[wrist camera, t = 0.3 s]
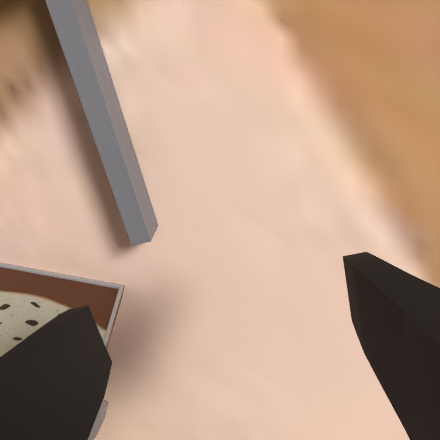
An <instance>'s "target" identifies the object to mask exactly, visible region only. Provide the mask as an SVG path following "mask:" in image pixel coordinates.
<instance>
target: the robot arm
mask: <svg viewBox="0 0 440 440" xmlns="http://www.w3.org/2000/svg"><path fill="white" fill-rule="evenodd" d="M343 261H344V268H345V275H346V282H347V289H348V296H349V303H350V311H351V318H352V322H353V325H354V328H355V330H356V333H357V336H358V338H359V341H360V343H361V346H362V348H363V351H364V353H365V355H366V357H367V359H368V361H369V363H370V365H371V367H372V369H373V371H374V372H375V374H376V376H377V378H378V380H379V382H380V384H381V386H382V387H383V389H384V391H385V393H386V395H387V397H388V399H389V400H390V402H391V404H392V406H393V408H394V410H395V412H396V414H397V415H398V417H399V419H400V421H401V423H402V425H403V427H404V428H405V430H406V432H407V434H408V436H409V438H410V440H440V288H438V287H436V286H434V285H432V284H430V283H427V282H425V281H423V280H421V279H419V278H417V277H415V276H413V275H411V274H409V273H407V272H405V271H403V270H401V269H399V268H397V267H395V266H393V265H391V264H389V263H387V262H386V261H384V260H382V259H380V258H378V257H376V256H374V255H372V254H370V253H368V252H363V253H358V254H353V255H348V256H343ZM111 364H112V361H111V359H110V356H109V354H108V351H107V349H106V346H105V344H104V342H103V339H102V337H101V334H100V332H99V330H98V327H97V325H96V322H95V320H94V318H93V315H92V313H91V310H90V308H89V306H82V307H77V308H72V309H68V310H66V311H64V312H63V313H61V314H59V315H58V316H56V317H55V318H53V319H52V320H50V321H49V322H47V323H46V324H45V325H43V326H42V327H40V328H39V329H38V330H36V331H35V332H34V333H32V334H31V335H30V336H28V337H27V338H25V339H24V340H23V341H21V342H20V343H19V344H17V345H16V346H15V347H13V348H12V349H11V350H9V351H8V352H6V353H5V354H4V355H2V356H1V357H0V440H88V438H89V435H90V433H91V430H92V427H93V425H94V422H95V420H96V417H97V414H98V412H99V409H100V406H101V404H102V401H103V398H104V395H105V391H106V387H107V383H108V379H109V374H110V369H111Z"/></svg>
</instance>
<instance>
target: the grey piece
mask: <svg viewBox="0 0 440 440" xmlns="http://www.w3.org/2000/svg"><path fill="white" fill-rule="evenodd" d="M45 1H46V4H47V7H48V10H49V13H50V15H51V18H52V21H53V24H54V27H55V30H56V32H57V35H58V38H59V41H60V44H61V47H62V50H63V52H64V55H65V58H66V61H67V64H68V67H69V70H70V72H71V75H72V78H73V81H74V84H75V87H76V89H77V92H78V95H79V98H80V101H81V104H82V107H83V109H84V112H85V115H86V118H87V121H88V124H89V126H90V129H91V132H92V135H93V138H94V141H95V144H96V146H97V149H98V152H99V155H100V158H101V161H102V163H103V166H104V169H105V172H106V175H107V178H108V181H109V183H110V186H111V189H112V192H113V195H114V198H115V201H116V203H117V206H118V209H119V212H120V215H121V218H122V220H123V223H124V226H125V229H126V232H127V235H128V238H129V240H130V243H131V245H136V244H140V243H145V242H150V241H151V240H152V238H153V236H154V233H155V231H156V229H157V227H158V224H157V220H156V217H155V214H154V211H153V208H152V205H151V202H150V198H149V195H148V192H147V189H146V186H145V183H144V179H143V176H142V173H141V170H140V167H139V164H138V161H137V157H136V154H135V151H134V148H133V145H132V142H131V139H130V135H129V132H128V129H127V126H126V123H125V120H124V116H123V113H122V110H121V107H120V104H119V101H118V98H117V94H116V91H115V88H114V85H113V82H112V79H111V76H110V72H109V69H108V66H107V63H106V60H105V57H104V53H103V50H102V47H101V44H100V41H99V38H98V35H97V31H96V28H95V25H94V22H93V19H92V16H91V13H90V9H89V6H88V3H87V0H45Z"/></svg>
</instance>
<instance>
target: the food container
mask: <svg viewBox="0 0 440 440" xmlns="http://www.w3.org/2000/svg"><path fill="white" fill-rule="evenodd" d="M123 290H124V285H119V284H114V283H108V282H103V281H97V280H92V279H87V278H81V277H76V276H70V275H65V274H60V273H54V272H49V271H43V270H38V269H33V268H27V267H22V266H17V265H11V264H6V263H0V357H1V356H2V355H4V354H5V353H6V352H8V351H9V350H11V349H12V348H13V347H15V346H16V345H17V344H19V343H20V342H21V341H23V340H24V339H25V338H27V337H28V336H30V335H31V334H32V333H34V332H35V331H36V330H38V329H39V328H40V327H42V326H43V325H45V324H46V323H47V322H49V321H50V320H52V319H53V318H55V317H56V316H58V315H59V314H61V313H63V312H64V311H66V310H68V309H72V308H77V307H82V306H89V308H90V310H91V313H92V315H93V318H94V320H95V322H96V325H97V327H98V330H99V332H100V334H101V337H102V339H103V342H104V344H105V346H106V349H107V347H108V344H109V340H110V337H111V333H112V330H113V326H114V323H115V320H116V316H117V313H118V309H119V306H120V303H121V299H122V295H123ZM107 405H108V401H106V400H104V402H103V403H102V405H101V406H100V409H99V412H98V414H97V417H96V420H95V422H94V425H93V427H92V430H91V433H90V435H89V438H88V440H94V438H95V437H96V435H97V433H98V431H99V429H100V427H101V425H102V422H103V420H104V418H105V414H106V409H107Z"/></svg>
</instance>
